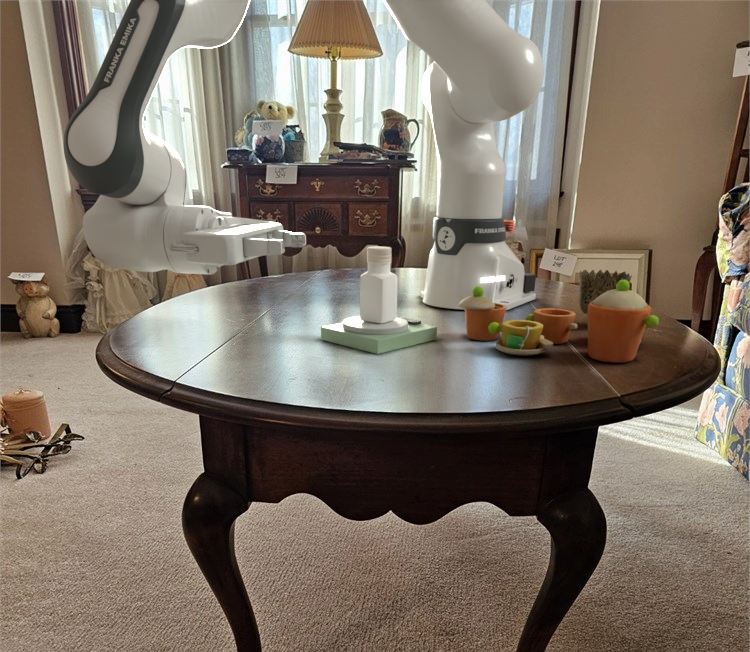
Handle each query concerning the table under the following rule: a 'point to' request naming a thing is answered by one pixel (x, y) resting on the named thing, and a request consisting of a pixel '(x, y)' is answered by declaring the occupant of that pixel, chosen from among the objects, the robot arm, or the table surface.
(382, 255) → the white square bottle
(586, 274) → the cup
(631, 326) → the toy tea set
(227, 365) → the table surface
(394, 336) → the scale
